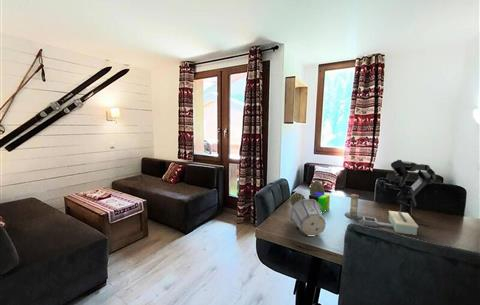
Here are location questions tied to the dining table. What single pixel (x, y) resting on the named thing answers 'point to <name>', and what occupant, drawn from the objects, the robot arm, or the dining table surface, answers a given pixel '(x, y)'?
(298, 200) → the tipped over flowerpot
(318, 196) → the puzzle toy
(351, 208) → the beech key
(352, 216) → the rubber mat
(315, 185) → the decorative egg
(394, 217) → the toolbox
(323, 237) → the dining table surface
